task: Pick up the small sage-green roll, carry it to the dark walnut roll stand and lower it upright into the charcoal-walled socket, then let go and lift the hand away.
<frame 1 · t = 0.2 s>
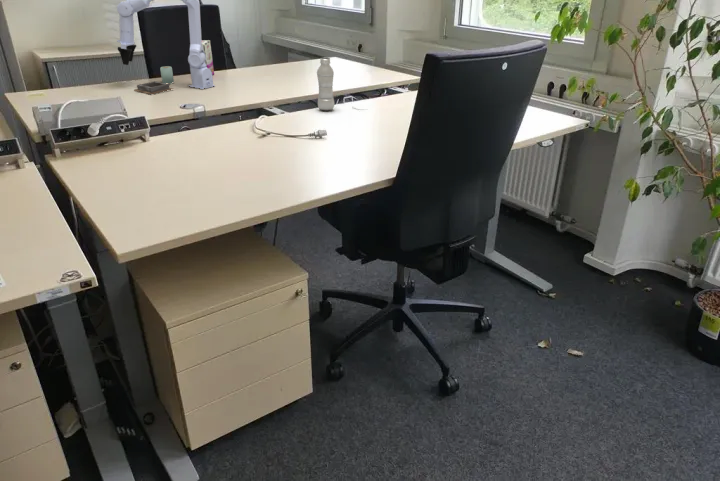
hand: (127, 62, 244), 11 cm above the table, tool pointing down, fingers open, 7 cm apart
roll: (168, 82, 257), on the table
holder: (154, 90, 243), on the table
plastic bottle: (326, 110, 218), on the table
candy bar box: (206, 77, 269), on the table
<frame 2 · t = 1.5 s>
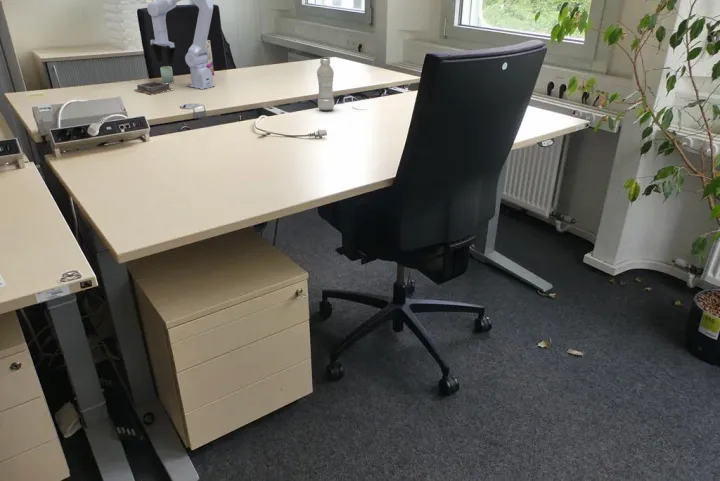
hand: (165, 62, 252), 9 cm above the table, tool pointing down, fingers open, 7 cm apart
nothing on the table moved.
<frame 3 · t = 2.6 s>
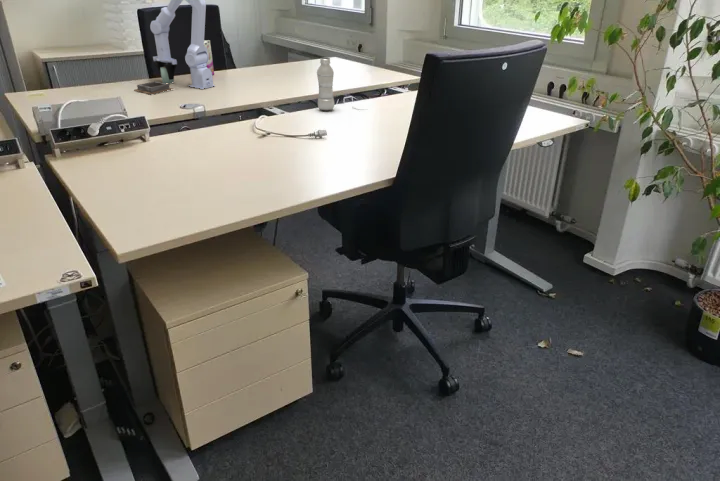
hand: (167, 78, 256), 2 cm above the table, tool pointing down, fingers closed on roll, 5 cm apart
roll: (168, 82, 257), on the table, touching gripper
everything else where it was.
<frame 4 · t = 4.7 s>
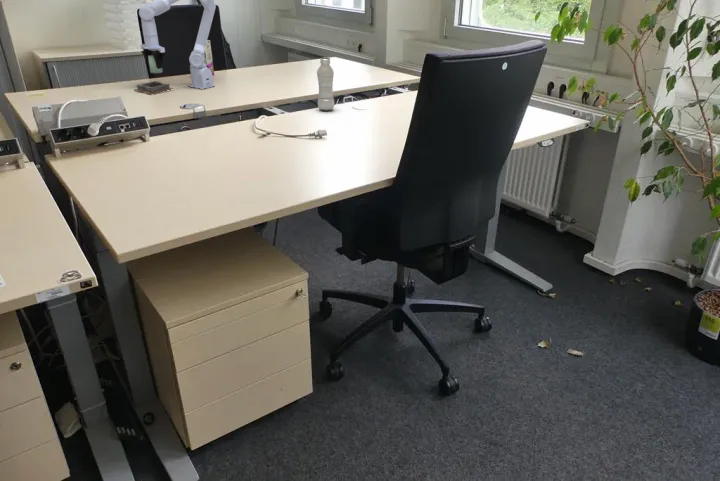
hand: (155, 67, 243), 9 cm above the table, tool pointing down, fingers closed on roll, 5 cm apart
roll: (156, 72, 244), point 7 cm above the table, touching gripper
everything else where it was.
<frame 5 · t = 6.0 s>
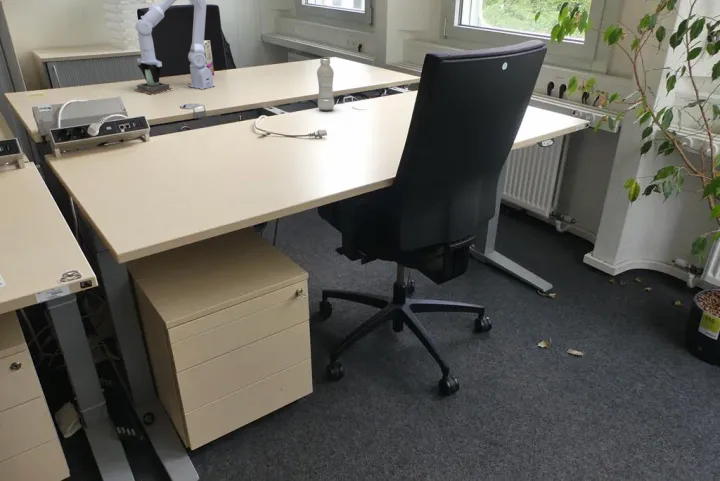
hand: (152, 81, 241), 4 cm above the table, tool pointing down, fingers closed on roll, 5 cm apart
roll: (153, 85, 242), point 2 cm above the table, touching gripper
everything else where it was.
when the fingers open (3 cm above the table, at t = 7.1 s): roll stays where it is, resting on holder.
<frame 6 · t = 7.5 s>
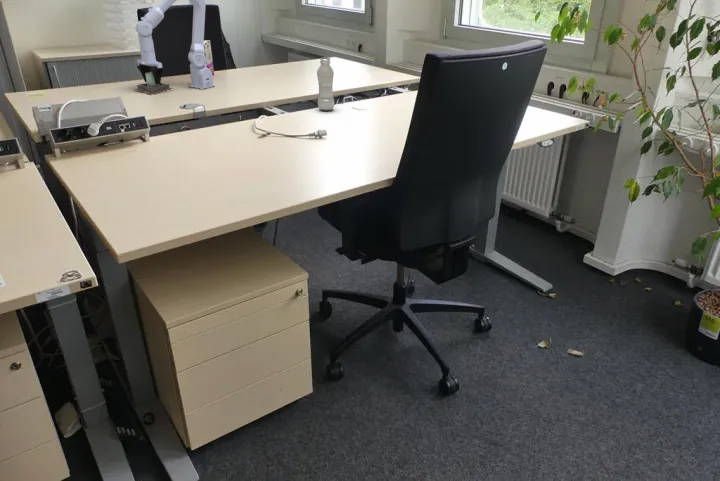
hand: (152, 82, 241), 3 cm above the table, tool pointing down, fingers open, 7 cm apart
roll: (154, 89, 243), point 1 cm above the table, touching holder
everything else where it was.
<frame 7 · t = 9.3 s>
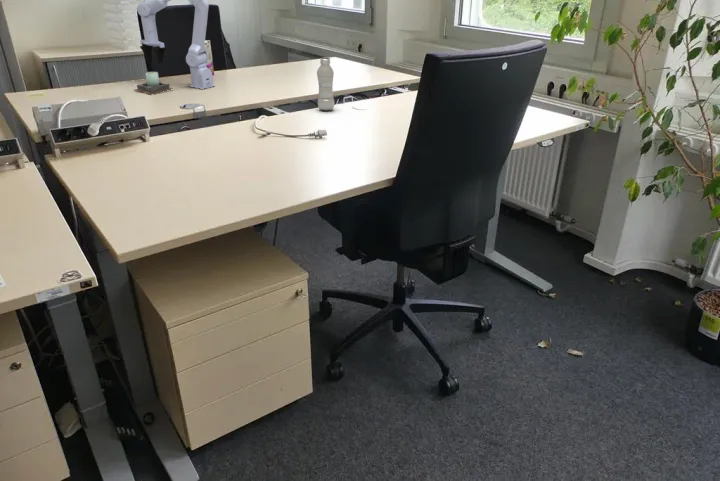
hand: (155, 62, 251), 9 cm above the table, tool pointing down, fingers open, 7 cm apart
nothing on the table moved.
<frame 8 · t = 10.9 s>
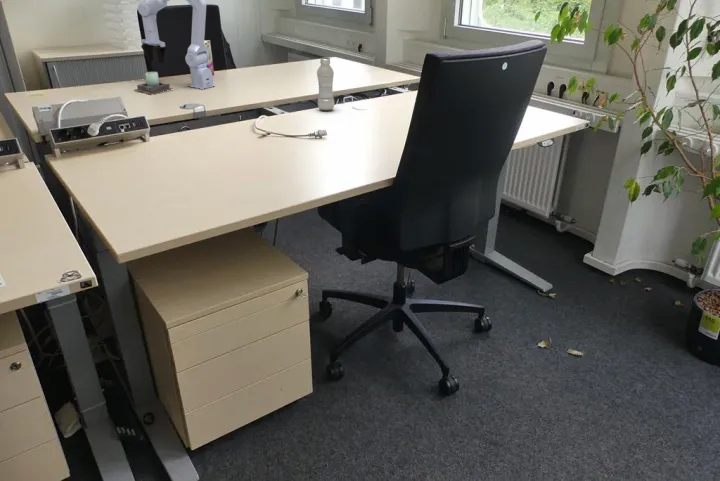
hand: (156, 61, 253), 9 cm above the table, tool pointing down, fingers open, 7 cm apart
nothing on the table moved.
at the end: roll 0.2 cm off-centre on the holder, point 0.6 cm above the holder's base; roll tilted 0°; the gripper is holding nothing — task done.
